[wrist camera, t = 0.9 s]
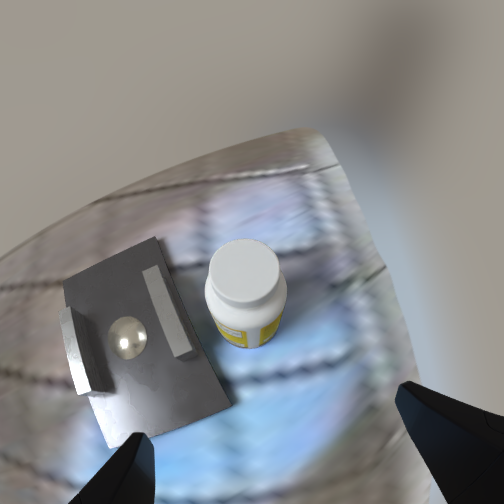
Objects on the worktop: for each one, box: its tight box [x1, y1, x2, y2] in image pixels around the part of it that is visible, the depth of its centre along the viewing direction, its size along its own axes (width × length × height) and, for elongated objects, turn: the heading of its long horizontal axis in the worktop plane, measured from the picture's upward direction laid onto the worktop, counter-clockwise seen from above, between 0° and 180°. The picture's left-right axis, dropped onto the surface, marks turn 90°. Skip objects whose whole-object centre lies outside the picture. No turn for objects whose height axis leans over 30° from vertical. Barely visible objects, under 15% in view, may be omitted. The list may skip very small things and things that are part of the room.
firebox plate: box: [59, 236, 232, 449], centre depth 21 cm, size 18×12×3 cm, turn 28°
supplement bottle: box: [205, 239, 287, 349], centre depth 19 cm, size 5×5×10 cm
